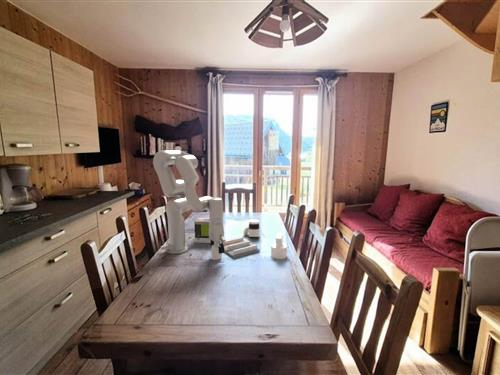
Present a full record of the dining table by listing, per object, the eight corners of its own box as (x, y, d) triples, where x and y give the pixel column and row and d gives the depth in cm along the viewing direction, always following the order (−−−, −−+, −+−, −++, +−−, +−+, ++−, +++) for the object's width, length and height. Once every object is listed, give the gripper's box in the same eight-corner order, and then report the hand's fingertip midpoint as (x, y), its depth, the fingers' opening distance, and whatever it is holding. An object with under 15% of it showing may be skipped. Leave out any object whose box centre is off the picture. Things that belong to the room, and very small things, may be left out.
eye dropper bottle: (212, 256, 146) (212, 236, 144) (222, 257, 146) (222, 237, 144) (210, 260, 142) (210, 239, 140) (220, 260, 142) (220, 239, 140)
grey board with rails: (233, 258, 144) (233, 252, 143) (218, 247, 159) (218, 241, 159) (259, 251, 154) (259, 245, 153) (242, 241, 169) (242, 236, 169)
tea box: (220, 238, 175) (220, 217, 173) (217, 244, 165) (217, 221, 163) (199, 237, 177) (198, 216, 174) (194, 243, 167) (193, 221, 165)
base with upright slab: (286, 259, 144) (286, 239, 142) (270, 258, 145) (270, 237, 144) (287, 253, 152) (287, 233, 150) (272, 251, 154) (272, 232, 152)
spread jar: (259, 239, 174) (259, 223, 172) (242, 239, 174) (242, 222, 172) (259, 233, 186) (259, 218, 184) (243, 233, 186) (243, 217, 184)
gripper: (203, 218, 145) (204, 247, 148) (217, 225, 131) (218, 257, 134) (215, 216, 149) (216, 244, 152) (230, 222, 135) (231, 253, 138)
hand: (217, 250), depth 143 cm, fingers open, 9 cm apart
